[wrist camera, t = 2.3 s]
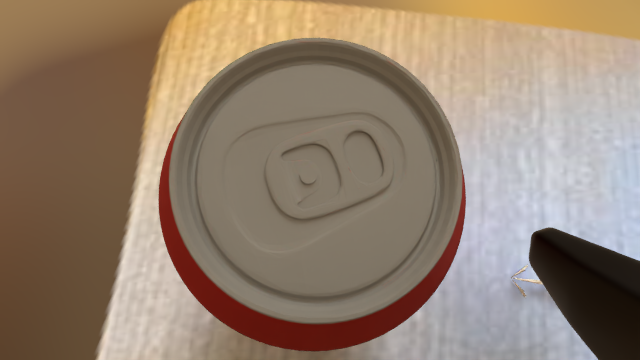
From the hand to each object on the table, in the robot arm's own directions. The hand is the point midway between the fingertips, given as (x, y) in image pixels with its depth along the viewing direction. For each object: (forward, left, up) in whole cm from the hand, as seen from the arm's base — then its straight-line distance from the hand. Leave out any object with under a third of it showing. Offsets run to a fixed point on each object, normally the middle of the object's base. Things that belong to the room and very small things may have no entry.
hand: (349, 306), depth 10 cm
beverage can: (+3, 0, -10) cm, 10 cm away
